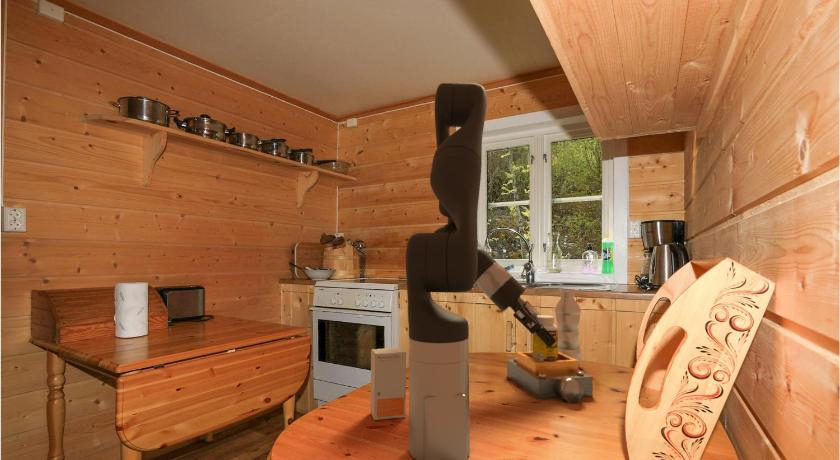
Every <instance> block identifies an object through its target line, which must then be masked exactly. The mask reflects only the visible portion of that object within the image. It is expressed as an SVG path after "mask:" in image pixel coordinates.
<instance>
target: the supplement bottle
mask: <svg viewBox="0 0 840 460" xmlns="http://www.w3.org/2000/svg"><path fill="white" fill-rule="evenodd" d="M537 316H538V318H539V319H538V321H539V322H540V323H541V324H542V325H543V327H544V328H545V329H546V330H547V331H548V332H549V333H550V334H551V335H552V336H553V337H554V338H555V339H556V342H555V343H554V344H553V345H552V346H551V347H548V346H547V345H546V344H545V343H544V342H543V341H542V340H541V339H540V338H539V337H538V336H537V335H535V334H532V351H533V359H534V360H536V361H537V362H540V361H558V327H557V324H555V316H554V315H548V314H547V315H546V314H540V315H537ZM534 325H535V324H534ZM534 325H532V327H533V326H534Z"/></svg>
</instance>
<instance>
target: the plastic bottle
mask: <svg viewBox="0 0 840 460" xmlns="http://www.w3.org/2000/svg"><path fill="white" fill-rule="evenodd" d="M559 297H560V299H559V300H558V302H557V303H556V305H555V308H554V313H555V320H556V321H555V322H556V326H557V327H558V351H559V352H561V353H563V354H565V355H567V356H570V357H572V358H574V359H576V360H578V361H579V366H580V365H581V363H582V359H583V358H582V357H583V356H582V351H581V347H580V323H581V322H580V320H581V313H582V310H581V307H580V305H579V303H578V302H577V300H575V297H576V295H575V289H572V288H561V289H559Z"/></svg>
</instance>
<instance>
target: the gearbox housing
mask: <svg viewBox="0 0 840 460" xmlns="http://www.w3.org/2000/svg"><path fill="white" fill-rule="evenodd" d="M515 354H516V355H515V356H516V357H513V358H512V359H506V377H508V378H509V379H510V380H511V381H513V382H514V383H516V385H518V386H519V387H521V388H522V389H524V391H527V393H529V394H530V395H531V396H533V397H534V398H536V399H537V400H538V401H546V400H560V399H564V400H565V401H566V402H568V403H571V404H576V403H578V402H580V401H581V400H582V399H583V398H585V397H593V396H594V395H593V391H594V390H593V389H594V387H593V376H591V375H590V374H587V373H585V371H582V370H580V369H579V366H580V365H579V361H578V360H576V359H574V358H572V357H570V356H567V355H565V354H563V353H561V352H559V351H558V361H540V362H537V361H536V360H534V359H533V350H531V351H517V352H516V353H515Z"/></svg>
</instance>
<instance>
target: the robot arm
mask: <svg viewBox="0 0 840 460" xmlns="http://www.w3.org/2000/svg"><path fill="white" fill-rule="evenodd" d="M435 92H436V93H435V96H434V123H435V125H434V127H435V140H436V141H435V142H436V150H435V152H434V155H433V158H432V164H431V169H430V176H429V184H430V187H431V191H432V192H433V194H434V195H435V197H436V199H437V200H438V211H439V213H440V214H441V215H442V216H443V217H445V218H447V224H444V225H442V226H440V227H438V228H437V229H436V230H435V231H434V232H421V233H420V232H419V233H414V234H412V235H410V238H409V239H408V241H407V243H406V247H405V248H406V249H405V275H406V279H405V280H406V293H407V321H408V322H407V324H408V431H409V433H408V443H409V444H408V447H409V448H408V452H409V454H410V456H411V457H412V458H413V459H414V460H468V457H469V456H470V453H471V441H470V440H471V436H470V434H471V430H470V429H471V428H470V425H471V424H470V359H469V358H470V350H469V348H470V347H469V346H470V345H469V344H470V342H469V341H470V340H469V338H470V337H469V334H470V333H469V332H470V330H469V328H470V327H469V321H468V320H467V318H466V317H465V316H462V315H460V314H459V313H455V312H453V311H450V310H448V309H445V308H444V307H442V306H441V305H440V304H438V303H437V302H436V301H435V300H434V299H433V297H432V293H447V294H448V293H451V294H452V293H453V294H458V293H460V294H461V293H468V292H469V291H471V290H473V288H474V287H475V284H476V285H477V286H478V287H479V289H480V290H481V292H482V293H483V294H484V295H485V296H487V298H488V299H489V300H490V301H491V302H492V303H493V304H494V305H495V306H496V307H497V308H498V309H499V310H500V311H501V312H505V311H506V310H507V309H508V308H511V309H512V311H513V312H514V313H513V314H512V315H513V317H514V318H515V319H517V320H518V322H519V323H520V324H521V325H523V326H524V327H525V328H526V329H527V331H529V333H530V334H532V335H533V334H535V335H537V336H538V337H539V338H540V339H541V340H542V341H543V342H544V343H545V344H546V345H547V346H548V347H551V346H552V345H553V344H554V343H555V342H556V339H555V338H554V337H553V336H552V335H551V334H550V333H549V332H548V331H547V330H546V329H545V328H544V327H543V325H542V324H541V323H540V322H539V321H538V319H539V318H538V316H537V315H541V313H539V311H538V310H537V309H536V308H535V307H534V306H533V305H532V303H531V302H530V301H528V300H524V299H522V298H521V296H522V295H523V294H524V293H525V291H526V289H525V287H524V286H523V285H522V284H521V283H520V282H519V281H518V280H517V279H516V278H515V277H514V276H513V275H512V274H511V273H510V272H509V271H508V270H507V269H506V268H504V267H503V266H502V265H500V264H499V263H498V261H496V260H495V259H494V258H493V256H492V255H490V254H489V253H488V252H487V251H486V250H485V249H484V248H482V247H479V245H478V244H479V242H478V238H479V237H478V235H479V233H478V230H479V229H478V210H479V209H478V208H479V199H480V198H479V197H480V189H481V181H482V180H481V179H482V165H483V163H482V162H483V161H482V160H483V156H482V155H483V153H482V152H483V151H482V150H483V149H482V148H483V135H484V129H485V127H484V126H485V122H486V121H485V120H486V114H487V106H488V105H487V103H488V101H487V100H488V99H487V98H488V97H487V91H486V89H485V88H484V86H483V85H481V84H479V83H474V82H441V83H440V84H438V86H437V88H436V91H435ZM450 128H459V129H457V130H456V131H454V132H453V133H452V134H450ZM534 324H535V325H534ZM533 325H534V326H533Z"/></svg>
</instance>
